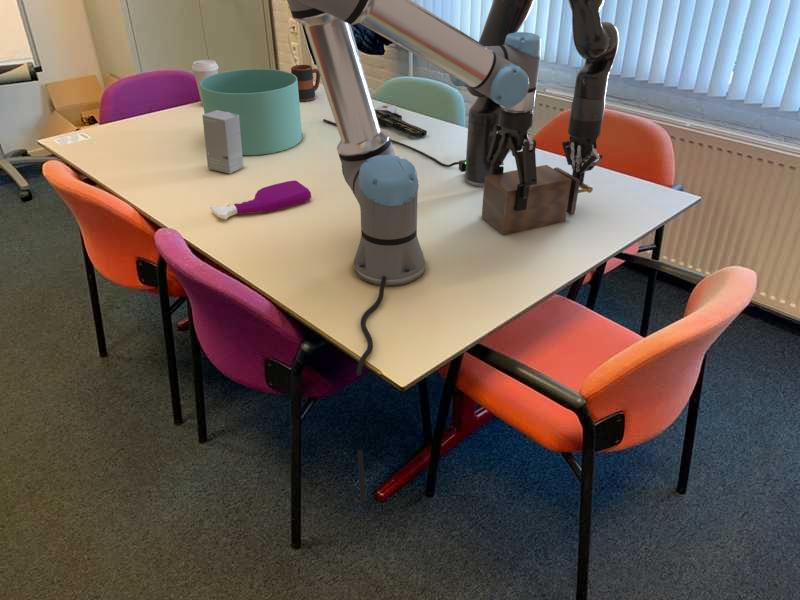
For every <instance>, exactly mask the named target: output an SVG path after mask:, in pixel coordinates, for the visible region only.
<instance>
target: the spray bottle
mask: <svg viewBox="0 0 800 600" xmlns="http://www.w3.org/2000/svg"><path fill="white" fill-rule="evenodd" d="M311 198H312V192H311V191H310V190H309V188H308V187H306V186H305V185H304V184H302V183H300V182H299V181H298V180H287V181H283V182H278V183H275V184H271V185H268V186H264V187H261V188H260V189H258V190H257V191H256V192H255V195H254V198H253V199H249V200H248V201H243V202H241V203H234V204H233V205H231V203H230V202H228V203H227V204H224V205H222V206H221V205H216V206H214V205H210V207H209V208H210V210H211V212H212V213H213V214H214V215H216V217H218V218H220V219H222V220H227V219H228V218H229V217H231V216H234V215H237V214H238V215H239V214H240V215H241V214H253V213H269V212H275V211H280V210H283V209H286V208H287V209H288V208H291V207H294V206H297V205H301V204H303V203H306V202H309V201H310V200H311Z"/></svg>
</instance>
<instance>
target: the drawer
mask: <svg viewBox="0 0 800 600" xmlns="http://www.w3.org/2000/svg"><path fill="white" fill-rule="evenodd" d="M553 169H555V170H556V171H558V172H560V173H562V174H563V175H565V176H567V177H569V178H570V179H572V180H571V187H570V193H569V200H568V206H567V212H566V214H568V215H569V216H574V215H575V214H576V209H577V208H576V206H577V201H578V196H579V195H578V194H581V193H585V192H587V193H588V194H591V193H592V192H593V187H592V186H590V185H589V184H587V183H585V182H583V183H582V185H579V184H580V180H579V179H577V178H576V177H574V176H572V174H570V173H569V172H567V171H565V170H563V169H562V168H560V167H554V168H553Z"/></svg>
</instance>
